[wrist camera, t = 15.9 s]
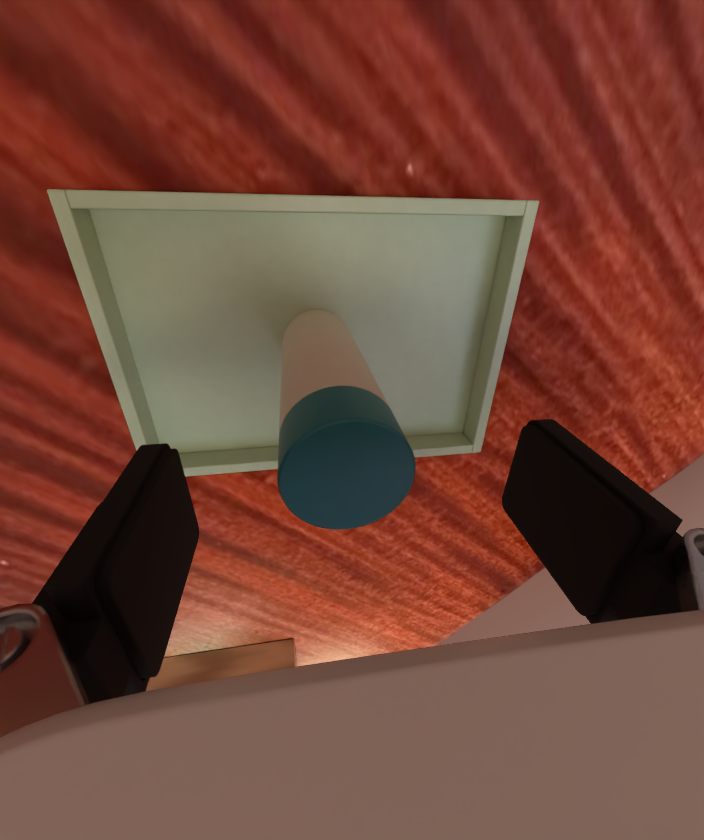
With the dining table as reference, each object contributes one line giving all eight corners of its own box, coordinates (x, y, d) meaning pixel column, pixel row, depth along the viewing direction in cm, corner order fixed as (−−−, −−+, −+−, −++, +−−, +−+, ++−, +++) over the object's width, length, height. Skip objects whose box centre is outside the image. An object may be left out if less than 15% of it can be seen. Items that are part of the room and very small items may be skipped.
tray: (515, 201, 17) (540, 200, 15) (466, 435, 24) (480, 452, 22) (73, 191, 14) (45, 188, 13) (157, 458, 21) (145, 480, 19)
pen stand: (294, 638, 32) (301, 1072, 16) (301, 701, 38) (312, 1065, 22) (151, 659, 31) (-4, 1169, 14) (182, 722, 36) (98, 1133, 20)
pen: (352, 308, 18) (423, 414, 9) (351, 375, 20) (409, 523, 10) (279, 310, 18) (270, 424, 8) (284, 378, 19) (283, 537, 10)
